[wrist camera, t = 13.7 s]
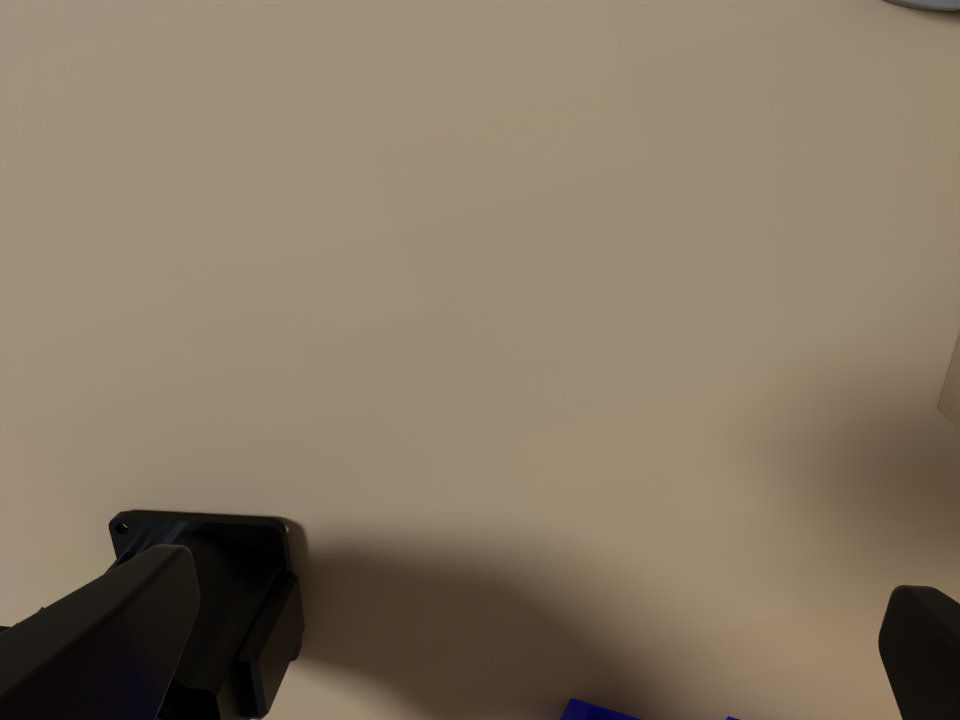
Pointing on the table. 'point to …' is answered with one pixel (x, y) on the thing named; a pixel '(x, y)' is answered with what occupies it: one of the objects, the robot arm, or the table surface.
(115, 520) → the robot arm
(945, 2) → the slate mat
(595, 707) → the cable clip
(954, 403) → the pocket block
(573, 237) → the table surface
